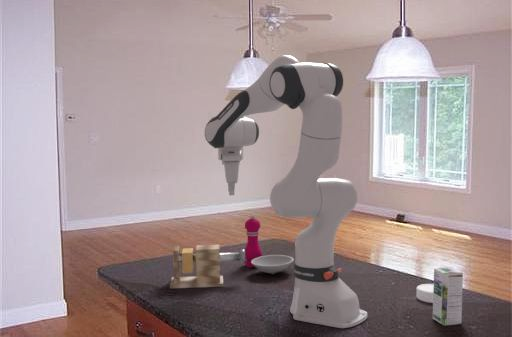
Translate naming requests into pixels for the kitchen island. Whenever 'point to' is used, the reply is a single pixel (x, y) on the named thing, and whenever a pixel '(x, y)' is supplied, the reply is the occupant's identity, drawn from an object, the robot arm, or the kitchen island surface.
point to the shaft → (225, 256)
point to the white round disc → (425, 292)
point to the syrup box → (447, 296)
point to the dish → (272, 263)
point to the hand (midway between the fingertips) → (231, 193)
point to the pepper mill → (252, 241)
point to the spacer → (187, 260)
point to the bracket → (199, 268)
